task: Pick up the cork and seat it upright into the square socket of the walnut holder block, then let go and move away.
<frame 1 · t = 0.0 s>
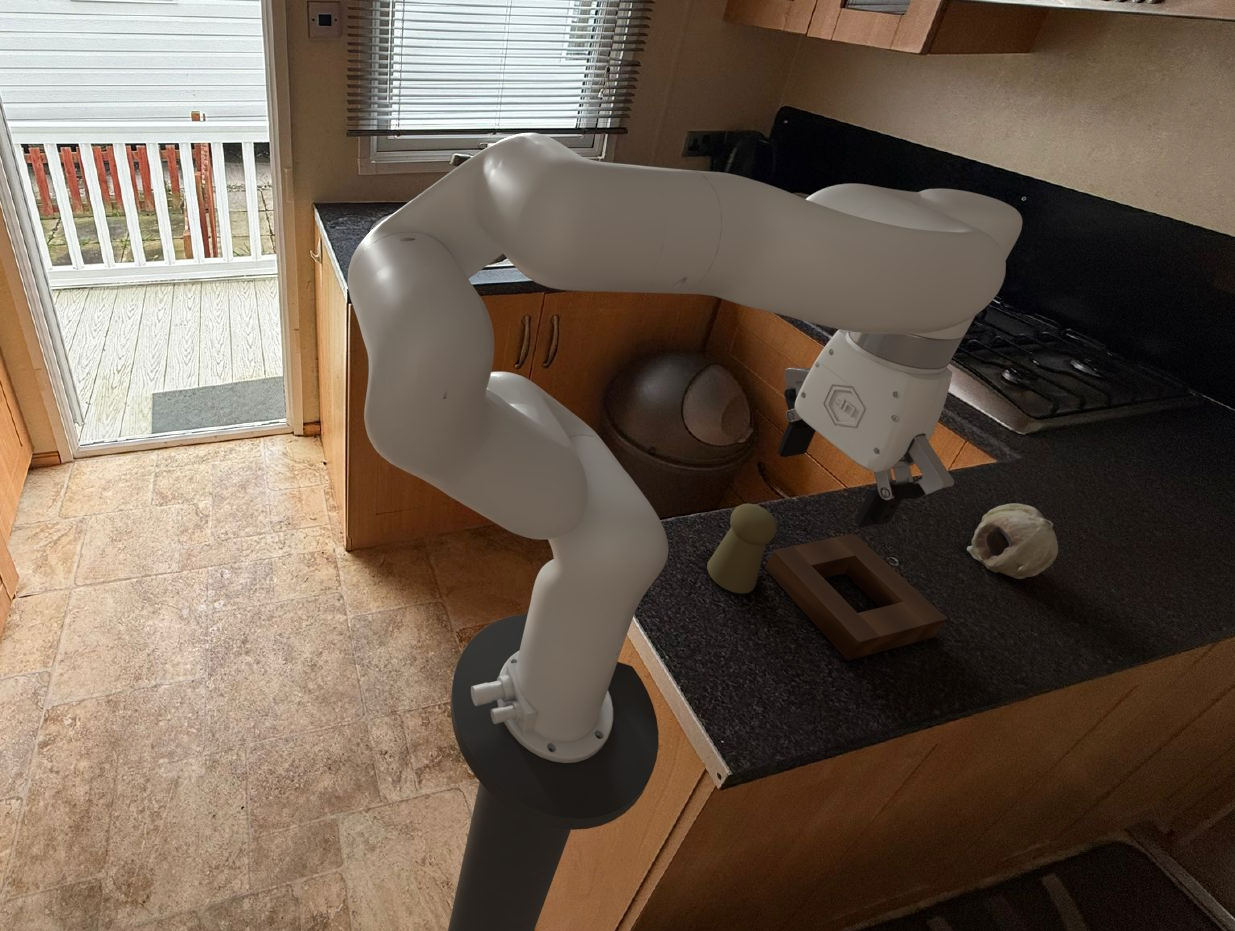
hand: (827, 486, 65), 26 cm above the worktop, tool pointing down, fingers open, 9 cm apart
garlic bulb: (998, 565, 92), on the worktop
cork: (730, 575, 87), on the worktop
holder: (845, 601, 85), on the worktop
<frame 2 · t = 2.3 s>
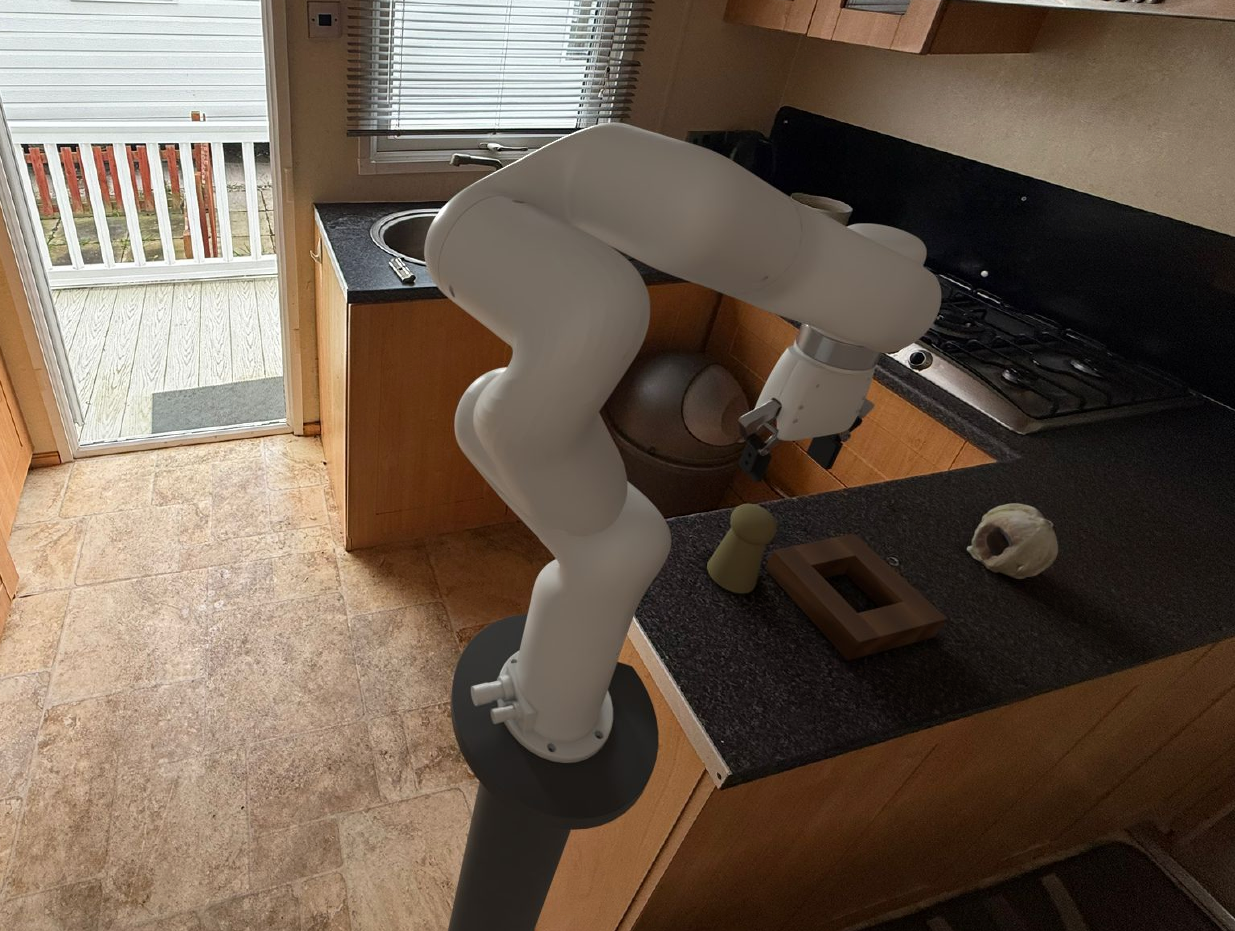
hand: (784, 467, 77), 19 cm above the worktop, tool pointing down, fingers open, 9 cm apart
nothing on the worktop moved.
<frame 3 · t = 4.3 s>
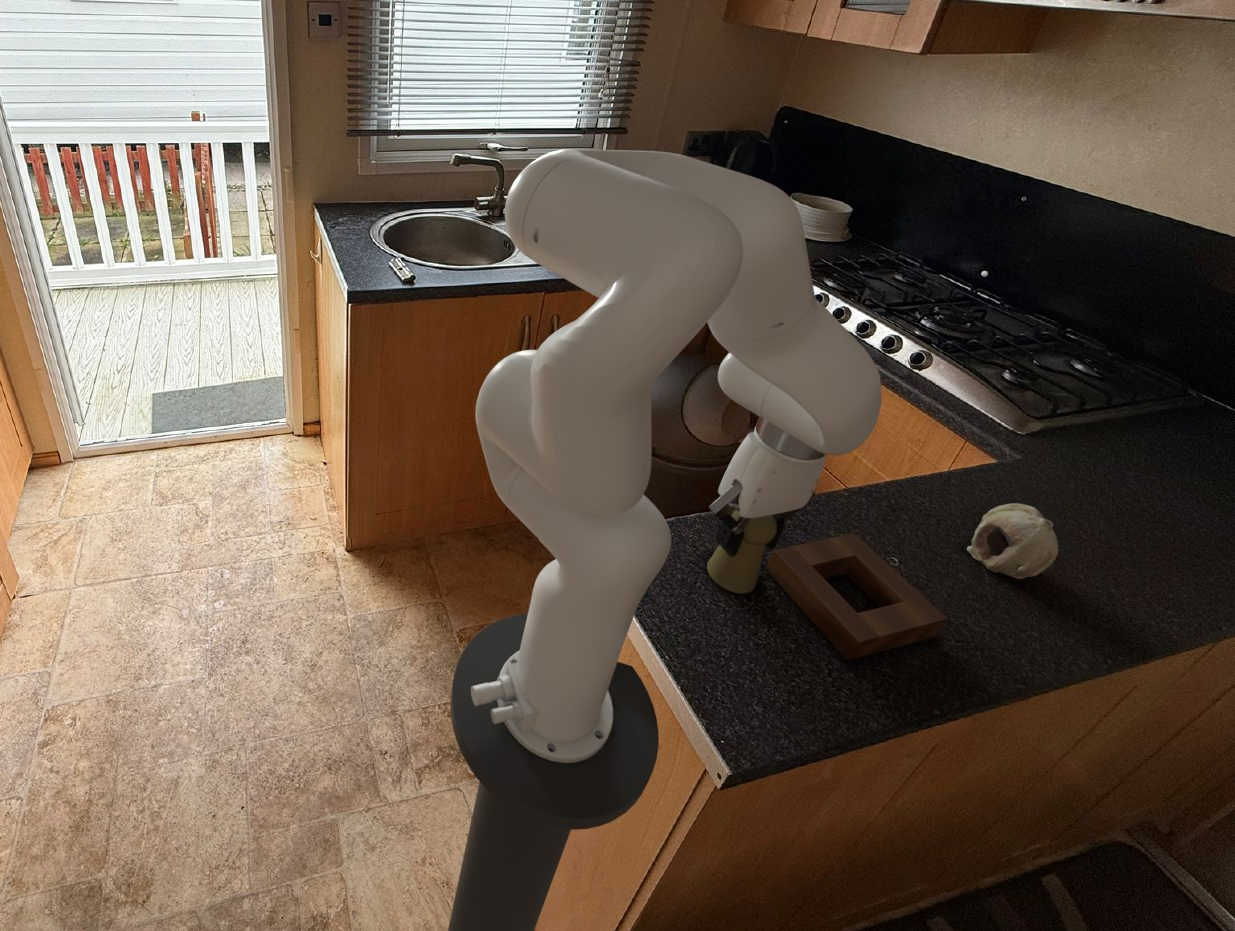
hand: (744, 542, 84), 6 cm above the worktop, tool pointing down, fingers closed on cork, 5 cm apart
cork: (730, 575, 87), on the worktop, touching gripper
everything else where it was.
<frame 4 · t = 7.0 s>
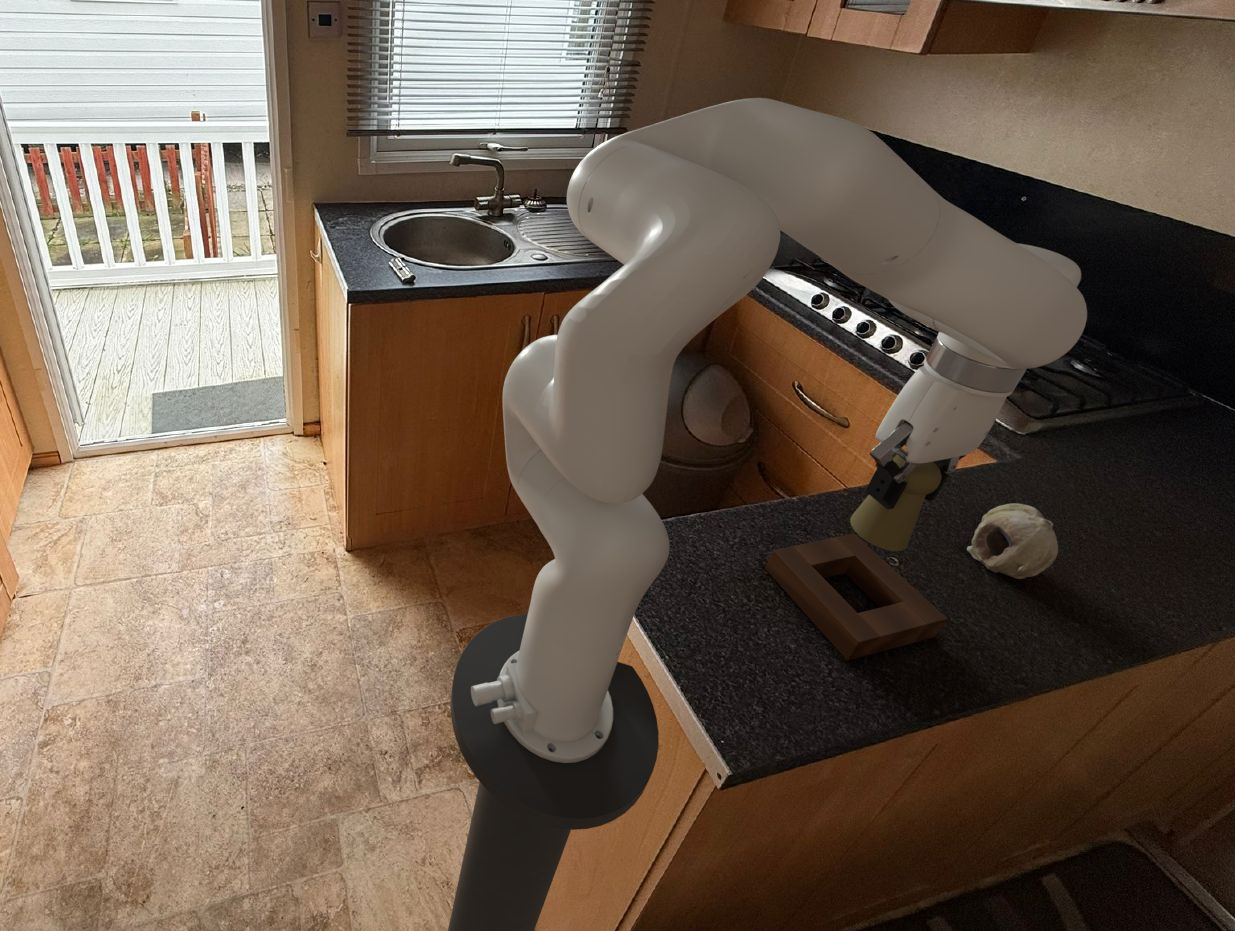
hand: (899, 495, 76), 18 cm above the worktop, tool pointing down, fingers closed on cork, 5 cm apart
cork: (878, 532, 79), point 12 cm above the worktop, touching gripper
everything else where it was.
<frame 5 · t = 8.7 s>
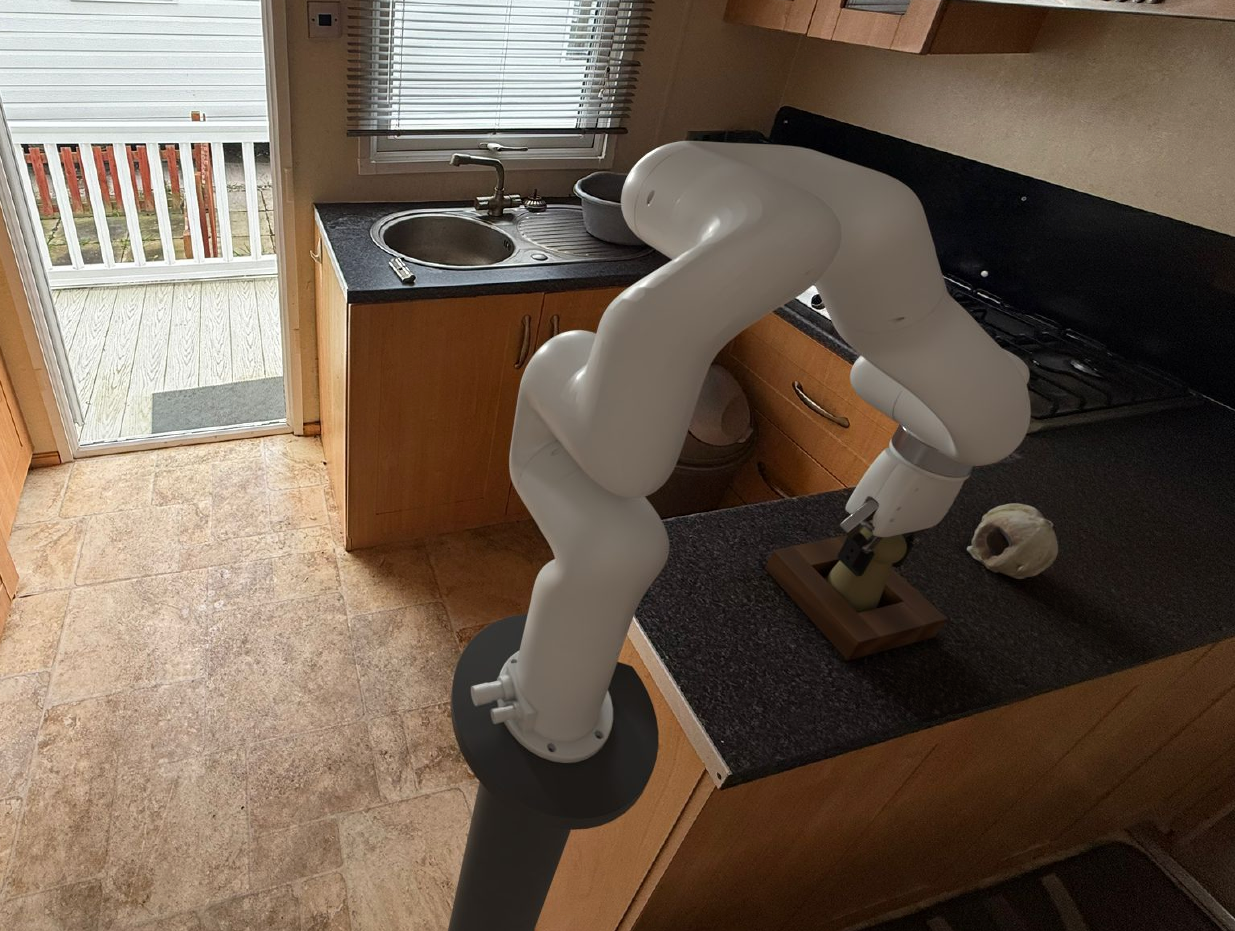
hand: (868, 561, 81), 7 cm above the worktop, tool pointing down, fingers closed on cork, 5 cm apart
cork: (849, 594, 84), point 1 cm above the worktop, touching gripper
everything else where it was.
when the fingers open (6 cm above the worktop, at t = 9.6 s): cork stays where it is, resting in holder.
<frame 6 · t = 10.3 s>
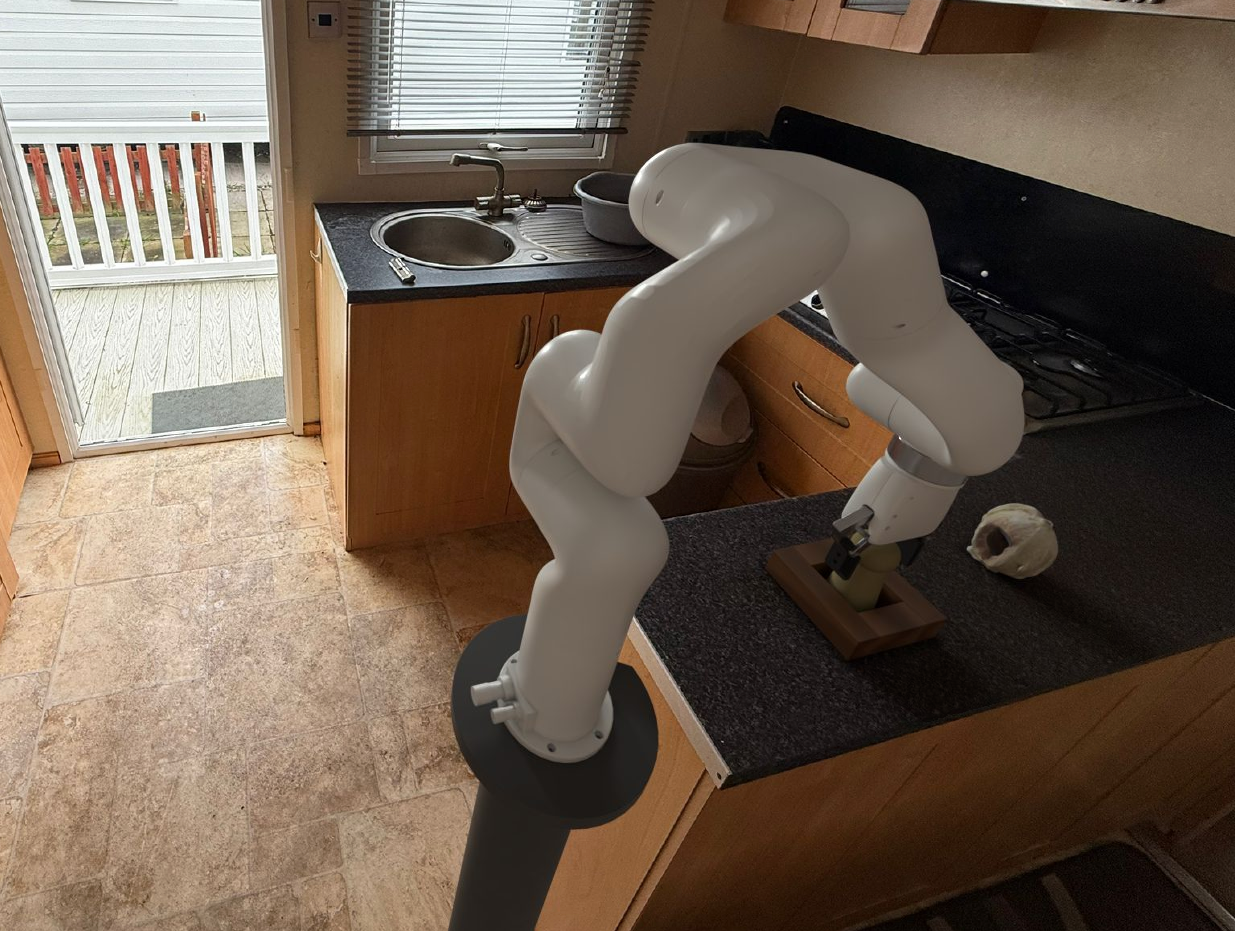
hand: (867, 563, 81), 7 cm above the worktop, tool pointing down, fingers open, 9 cm apart
cork: (844, 602, 85), resting in holder
everything else where it was.
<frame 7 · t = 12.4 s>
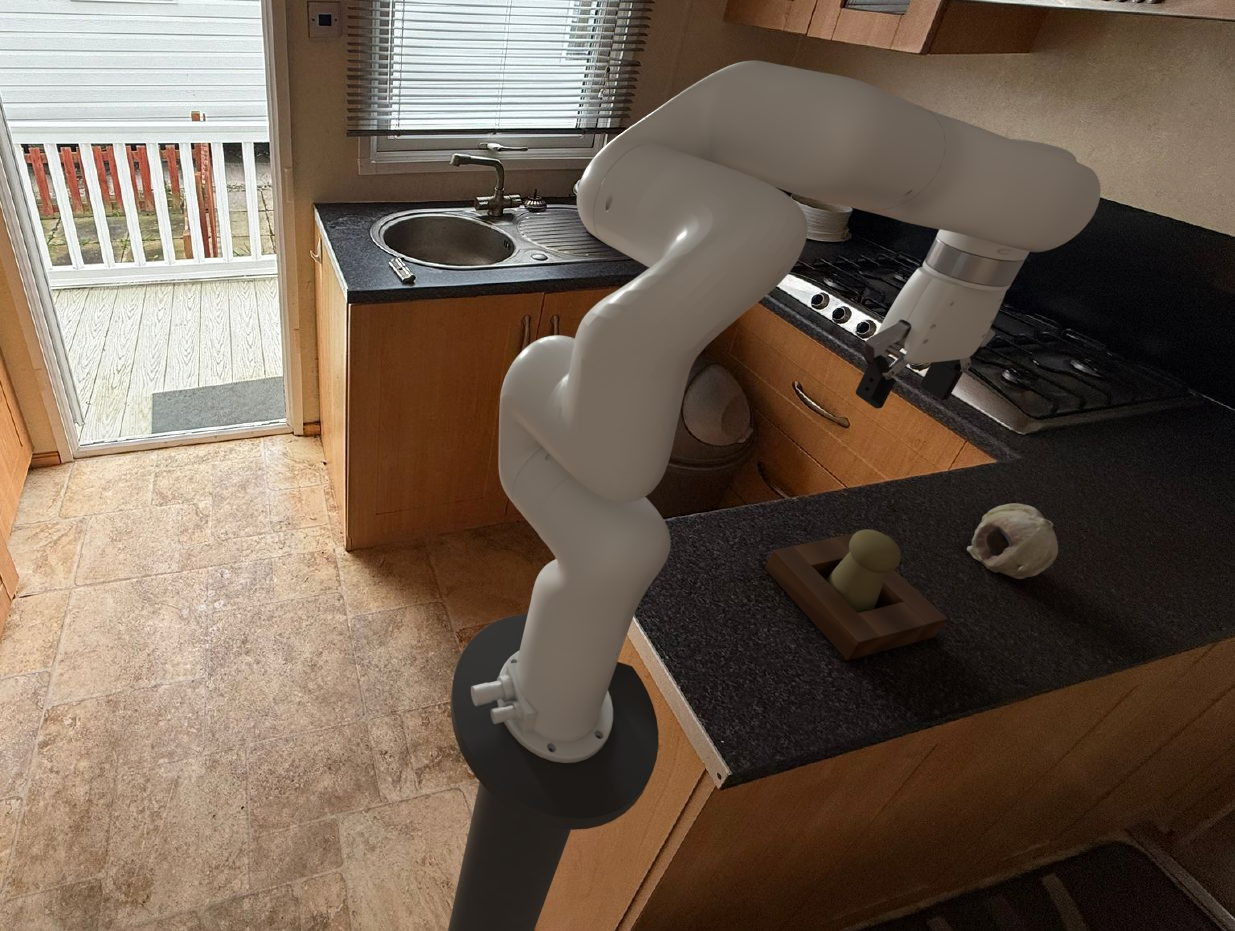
hand: (900, 397, 77), 27 cm above the worktop, tool pointing down, fingers open, 9 cm apart
nothing on the worktop moved.
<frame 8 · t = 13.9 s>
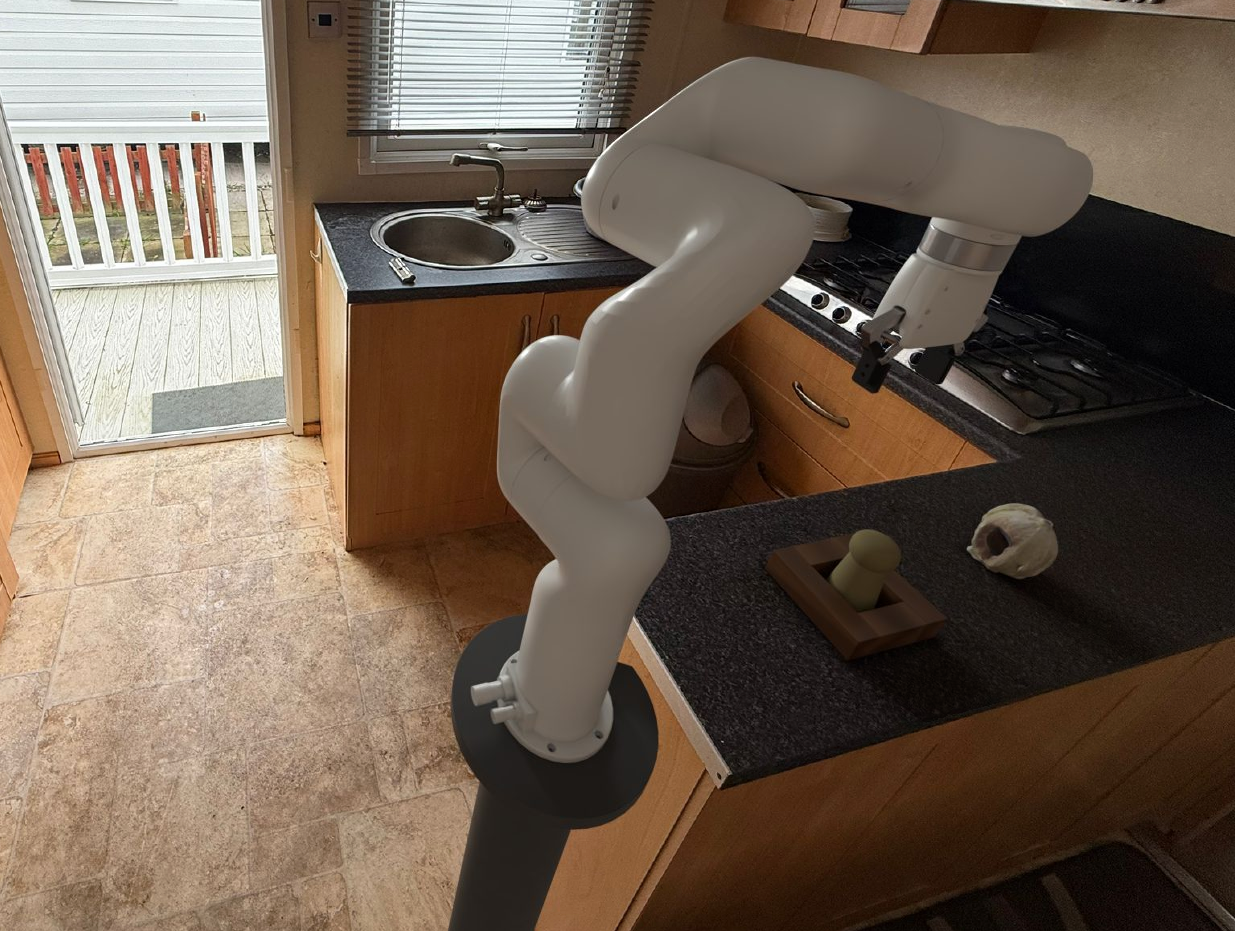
hand: (896, 382, 78), 28 cm above the worktop, tool pointing down, fingers open, 9 cm apart
nothing on the worktop moved.
at the end: cork 0.1 cm off-centre in the holder, point 0.0 cm above the holder's base; cork tilted 0°; the gripper is holding nothing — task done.
